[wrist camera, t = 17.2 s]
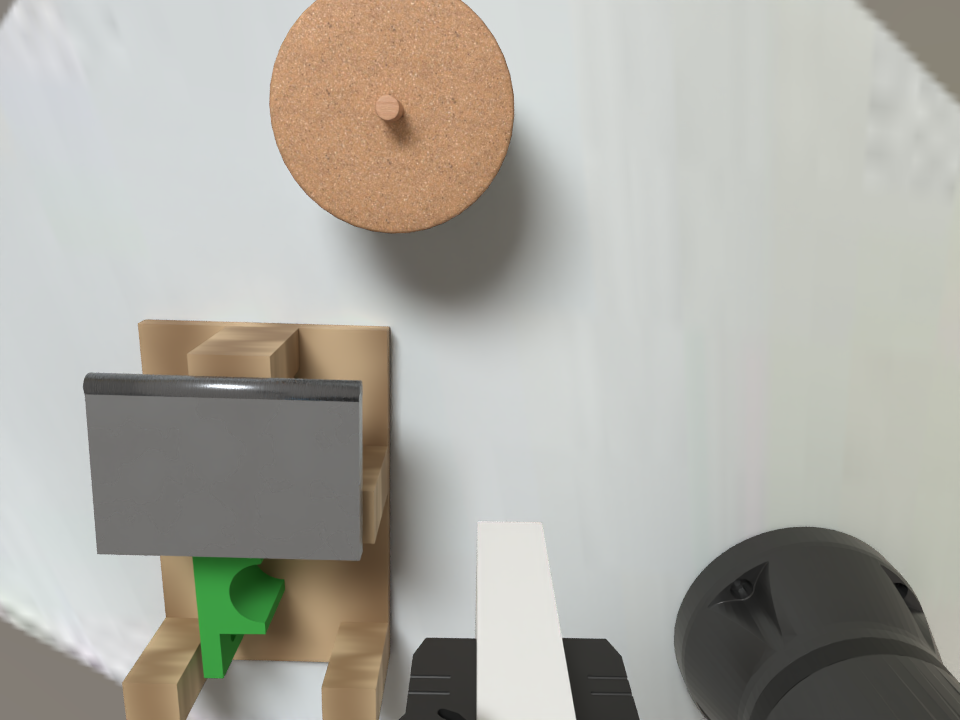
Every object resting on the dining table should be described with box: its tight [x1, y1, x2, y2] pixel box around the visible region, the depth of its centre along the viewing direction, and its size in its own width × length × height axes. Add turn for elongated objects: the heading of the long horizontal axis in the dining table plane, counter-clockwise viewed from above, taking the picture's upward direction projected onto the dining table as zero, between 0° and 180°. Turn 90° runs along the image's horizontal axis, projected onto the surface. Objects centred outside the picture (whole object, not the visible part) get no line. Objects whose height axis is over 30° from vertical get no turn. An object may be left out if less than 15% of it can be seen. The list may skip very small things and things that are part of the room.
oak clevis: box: [122, 320, 390, 720], centre depth 42 cm, size 14×22×7 cm, turn 178°
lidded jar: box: [269, 0, 514, 233], centre depth 35 cm, size 11×11×9 cm
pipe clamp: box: [192, 556, 285, 678], centre depth 43 cm, size 11×4×5 cm, turn 179°
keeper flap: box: [83, 373, 363, 561], centre depth 37 cm, size 13×9×1 cm
